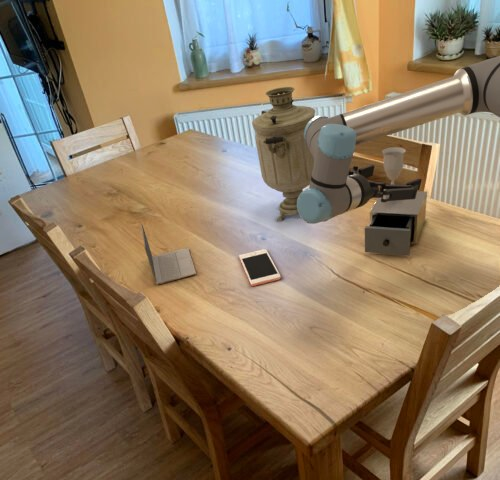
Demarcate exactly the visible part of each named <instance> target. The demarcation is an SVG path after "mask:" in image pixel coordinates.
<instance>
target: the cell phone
mask: <svg viewBox="0 0 500 480" xmlns="http://www.w3.org/2000/svg"><path fill="white" fill-rule="evenodd" d="M238 259H239V260H240V262H241V265H242V267H243V270H244V272H245V275H246V277H247V279H248V281H249V283H250V286H252V287H255V286H259V285H263V284H267V283H271V282H276V281H279V280H281V278H282V277H281V274H280V272H279V270H278V269H277V267H276V264H275V263H274V261H273V259H272V257H271V255H270V254H269V252H268V250H267V248H264V249H259V250H255V251H251V252H246V253H243V254H239V255H238Z"/></svg>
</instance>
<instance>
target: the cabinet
mask: <svg viewBox="0 0 500 480" xmlns="http://www.w3.org/2000/svg"><path fill="white" fill-rule="evenodd" d="M427 199H428V191H423V190H422V191H421V190H418V191H417V194H416V198H415V199H410V200H396V201H388V202H381V198H376V200H375V202H374V203H373V205H372V207H371V209H370V211H369V224H370V223H371V221H372V219H373V217H374V215H388V216H407V217H415V222H414V236H413V238H412V241H411V243H410V245H414V246H415V245H417V244H418V240H419V238H420V235H421V233H422V229H423V227H424V224H425V222H426V212H427V201H428V200H427Z"/></svg>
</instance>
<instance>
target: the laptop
mask: <svg viewBox="0 0 500 480" xmlns="http://www.w3.org/2000/svg"><path fill="white" fill-rule="evenodd" d="M140 226H141V233H142V240H143V246H144V247H143V248H144V251H145V254H146V257H147V260H148V264H149V265H150V266H149V267H150V270H151V272H152V276H153V279H154V282H155V284H156V285H161V284H165V283H169V282H172V281H176V280H179V279H184V278H186V277H190V276H194V275H196V274H197V273H196V269H195V266H194V262H193V259H192V256H191V253H190V252H191V251H190V249H189V247H184V248H181V249H180V248H179V249H176V250H172V251H168V252H164V253H160V254H157V255H152V251H151V247H150V245H149V242H148V238H147V234H146V232H145V229H144V225H143V223H142V222H140Z"/></svg>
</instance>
